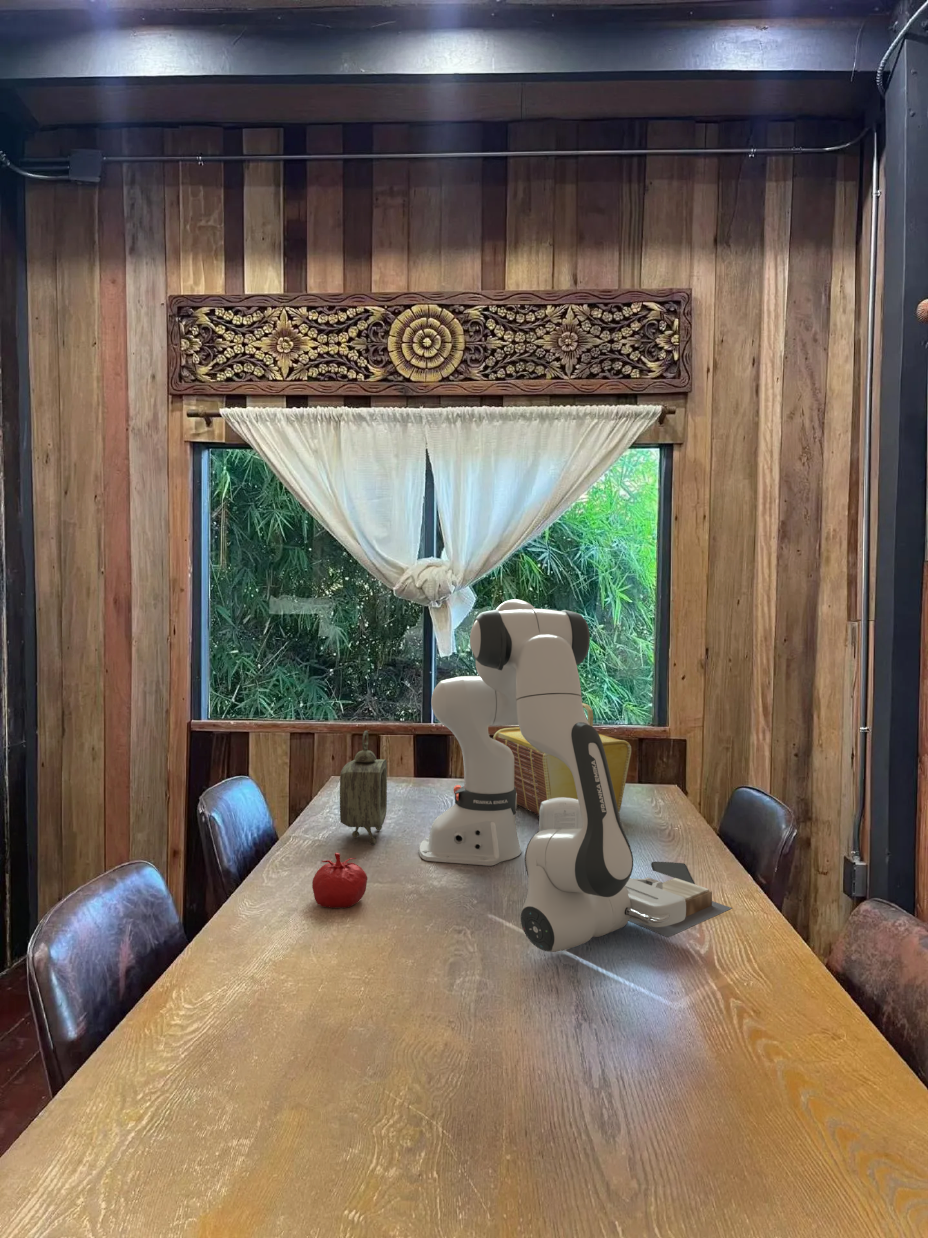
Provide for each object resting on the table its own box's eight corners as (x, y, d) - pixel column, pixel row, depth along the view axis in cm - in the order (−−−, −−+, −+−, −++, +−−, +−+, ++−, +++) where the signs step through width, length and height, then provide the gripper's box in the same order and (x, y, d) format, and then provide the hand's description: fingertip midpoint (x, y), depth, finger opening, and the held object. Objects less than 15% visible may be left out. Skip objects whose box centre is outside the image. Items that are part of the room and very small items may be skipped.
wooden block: (671, 906, 134) (712, 889, 142) (634, 892, 141) (675, 876, 148) (671, 923, 135) (711, 905, 142) (634, 908, 141) (674, 892, 148)
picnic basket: (490, 803, 212) (490, 693, 211) (570, 793, 223) (571, 689, 222) (545, 834, 186) (546, 708, 185) (634, 821, 197) (635, 702, 196)
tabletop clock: (379, 848, 175) (379, 737, 174) (339, 847, 175) (338, 736, 174) (386, 828, 190) (386, 726, 189) (349, 828, 190) (349, 725, 189)
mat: (667, 940, 129) (667, 937, 129) (602, 913, 140) (602, 910, 140) (732, 911, 141) (732, 908, 141) (667, 888, 152) (667, 885, 152)
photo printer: (581, 849, 175) (582, 794, 174) (587, 856, 170) (587, 800, 170) (536, 851, 173) (537, 796, 173) (541, 858, 169) (541, 801, 169)
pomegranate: (356, 917, 139) (356, 865, 138) (303, 911, 141) (303, 860, 140) (374, 894, 148) (374, 846, 148) (324, 889, 150) (324, 842, 150)
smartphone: (685, 863, 165) (697, 888, 151) (685, 867, 165) (697, 893, 151) (650, 861, 166) (657, 885, 152) (650, 865, 166) (657, 890, 152)
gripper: (655, 904, 121) (707, 883, 130) (559, 867, 137) (611, 851, 146) (655, 944, 121) (706, 921, 130) (559, 903, 137) (611, 885, 146)
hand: (655, 884), depth 138 cm, fingers closed
